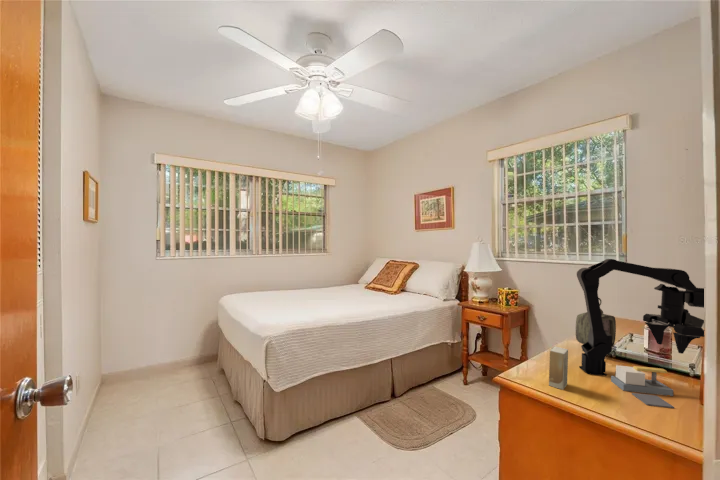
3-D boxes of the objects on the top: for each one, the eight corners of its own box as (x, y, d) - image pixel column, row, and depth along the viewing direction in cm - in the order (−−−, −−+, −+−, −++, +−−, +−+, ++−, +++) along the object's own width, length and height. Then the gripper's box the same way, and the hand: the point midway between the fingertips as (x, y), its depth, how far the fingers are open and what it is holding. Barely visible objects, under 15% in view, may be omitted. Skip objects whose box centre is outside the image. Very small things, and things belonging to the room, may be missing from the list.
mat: (646, 405, 93) (647, 403, 93) (631, 394, 100) (631, 392, 100) (674, 408, 92) (674, 407, 92) (656, 396, 99) (657, 395, 99)
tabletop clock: (595, 358, 131) (597, 300, 131) (573, 351, 139) (575, 296, 140) (615, 354, 137) (616, 298, 137) (592, 347, 145) (594, 294, 145)
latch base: (623, 390, 103) (623, 384, 103) (610, 381, 109) (611, 375, 109) (673, 396, 100) (673, 389, 100) (657, 386, 107) (657, 379, 107)
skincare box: (553, 380, 109) (554, 345, 109) (567, 384, 106) (568, 349, 106) (548, 385, 104) (549, 349, 105) (563, 390, 101) (564, 353, 101)
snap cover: (625, 383, 103) (626, 371, 103) (615, 376, 108) (615, 365, 108) (644, 385, 102) (645, 373, 102) (633, 378, 107) (634, 367, 107)
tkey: (636, 382, 104) (637, 368, 104) (633, 379, 106) (633, 365, 106) (666, 385, 102) (666, 370, 102) (662, 382, 104) (662, 368, 104)
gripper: (726, 312, 98) (723, 361, 98) (677, 301, 116) (674, 342, 116) (685, 309, 100) (682, 357, 100) (643, 298, 118) (640, 339, 118)
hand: (669, 348), depth 108 cm, fingers open, 9 cm apart
